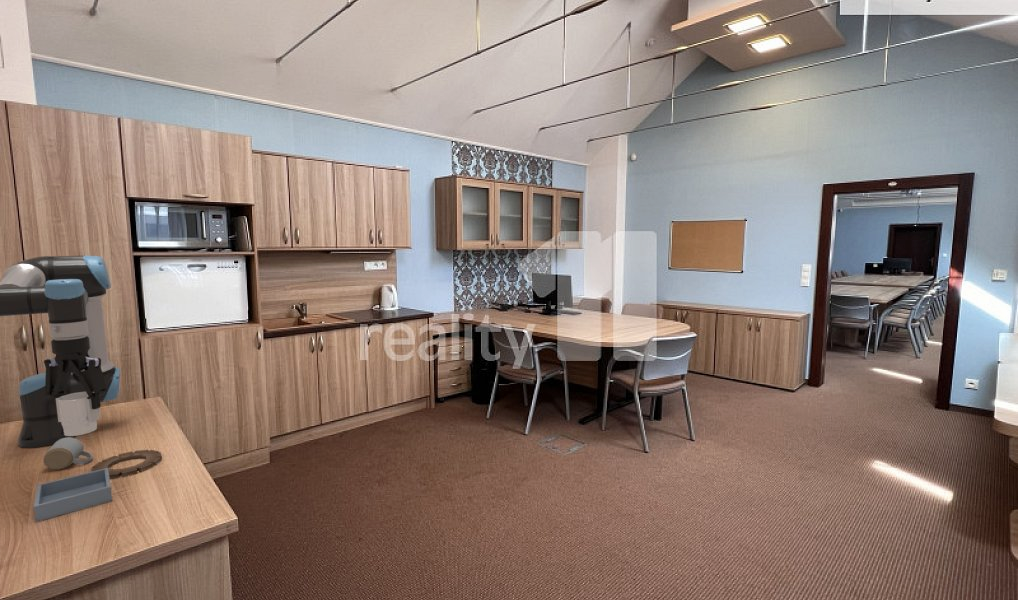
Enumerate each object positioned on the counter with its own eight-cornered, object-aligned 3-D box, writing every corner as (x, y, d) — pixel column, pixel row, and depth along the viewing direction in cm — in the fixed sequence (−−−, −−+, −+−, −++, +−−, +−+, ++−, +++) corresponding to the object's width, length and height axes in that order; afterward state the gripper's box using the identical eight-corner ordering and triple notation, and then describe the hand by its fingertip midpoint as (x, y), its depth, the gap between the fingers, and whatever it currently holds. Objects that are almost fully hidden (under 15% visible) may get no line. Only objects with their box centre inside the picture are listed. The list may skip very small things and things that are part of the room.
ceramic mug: (42, 473, 143) (40, 448, 142) (53, 462, 151) (51, 438, 150) (87, 466, 148) (85, 443, 147) (96, 456, 155) (94, 433, 154)
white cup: (53, 435, 128) (49, 399, 126) (86, 424, 135) (83, 390, 134) (74, 438, 125) (70, 401, 124) (106, 427, 133) (103, 392, 132)
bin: (39, 498, 129) (37, 484, 129) (109, 480, 139) (108, 467, 138) (35, 522, 118) (33, 506, 118) (112, 500, 128) (110, 486, 127)
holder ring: (90, 464, 149) (90, 460, 149) (158, 448, 160) (157, 445, 160) (92, 485, 136) (91, 481, 136) (164, 466, 148) (164, 462, 148)
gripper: (18, 340, 124) (28, 425, 127) (94, 340, 123) (103, 425, 126) (47, 334, 131) (56, 415, 134) (119, 334, 131) (127, 415, 133)
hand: (79, 420), depth 130 cm, fingers closed on white cup, 8 cm apart
